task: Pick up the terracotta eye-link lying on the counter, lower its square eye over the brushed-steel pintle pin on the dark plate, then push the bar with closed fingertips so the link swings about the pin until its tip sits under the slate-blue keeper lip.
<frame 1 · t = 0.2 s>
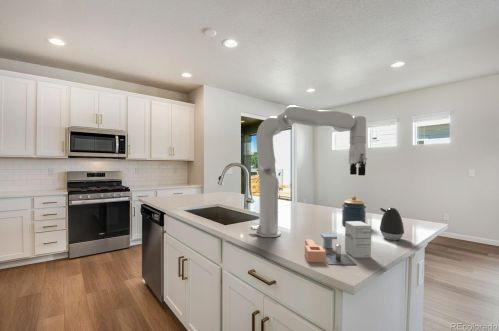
hand: (357, 174, 124), 31 cm above the counter, fingers open, 9 cm apart
link: (310, 252, 101), on the counter
canister: (353, 226, 145), on the counter
keeper: (327, 247, 107), on the counter
supplement box: (357, 254, 99), on the counter
pump dispenser: (391, 239, 120), on the counter
pintle station: (337, 259, 93), on the counter
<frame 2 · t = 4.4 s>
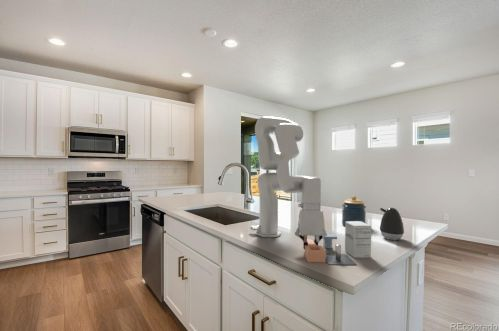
hand: (310, 250, 101), 1 cm above the counter, fingers closed on link, 3 cm apart
link: (310, 252, 101), on the counter, touching gripper
everything else where it was.
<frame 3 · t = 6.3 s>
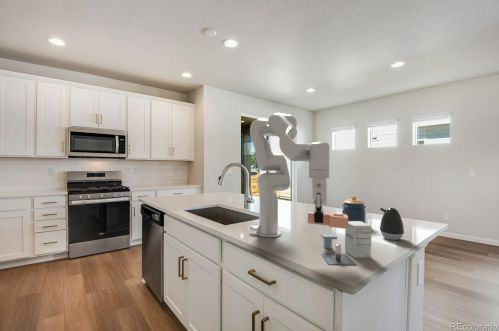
hand: (318, 221, 95), 14 cm above the counter, fingers closed on link, 3 cm apart
link: (318, 223, 95), point 13 cm above the counter, touching gripper
everything else where it was.
when the fingers open (2 cm above the counter, at t = 8.3 s): link stays where it is, resting on pintle station.
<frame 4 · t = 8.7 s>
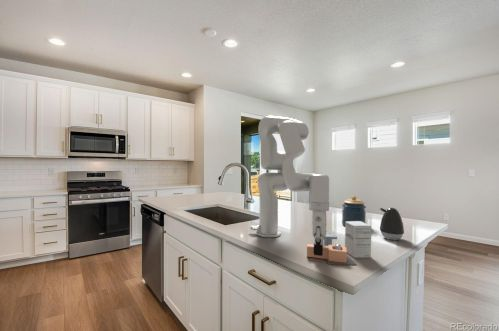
hand: (318, 251, 95), 2 cm above the counter, fingers open, 7 cm apart
link: (317, 256, 96), resting on pintle station
everything else where it was.
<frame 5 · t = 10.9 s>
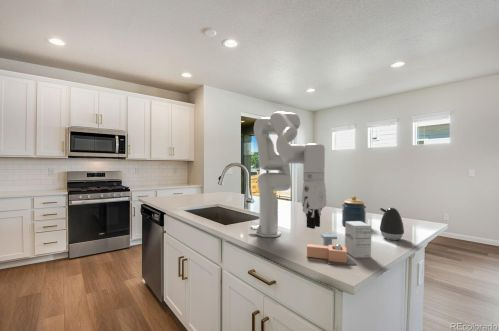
hand: (313, 226, 91), 13 cm above the counter, fingers closed
nothing on the counter moved.
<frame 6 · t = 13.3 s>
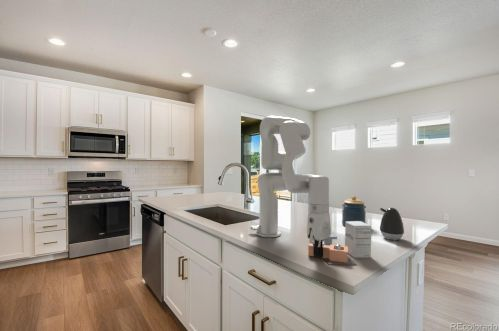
hand: (318, 256, 93), 1 cm above the counter, fingers closed
link: (319, 255, 96), resting on pintle station
everything else where it was.
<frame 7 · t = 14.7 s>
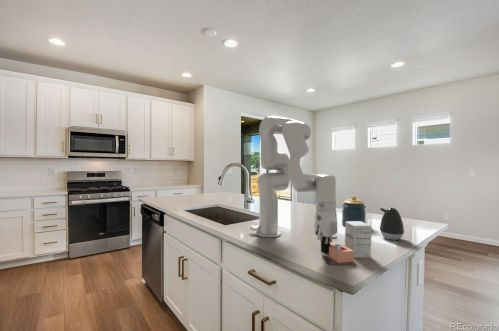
hand: (325, 252, 97), 1 cm above the counter, fingers closed
link: (330, 252, 100), resting on pintle station, touching gripper
everything else where it was.
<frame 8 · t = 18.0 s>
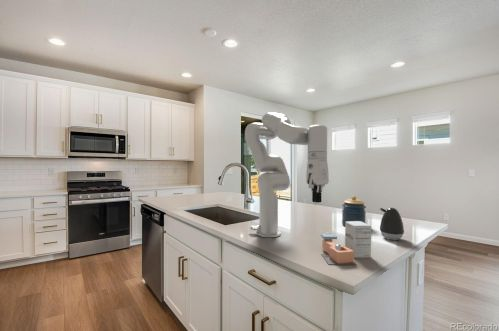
hand: (316, 202, 98), 21 cm above the counter, fingers closed
link: (330, 252, 100), resting on pintle station
everything else where it was.
at the end: link tilted 0° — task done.
